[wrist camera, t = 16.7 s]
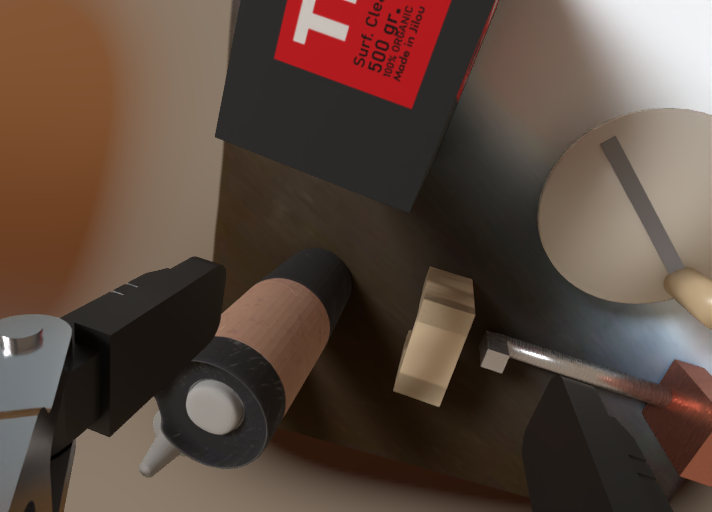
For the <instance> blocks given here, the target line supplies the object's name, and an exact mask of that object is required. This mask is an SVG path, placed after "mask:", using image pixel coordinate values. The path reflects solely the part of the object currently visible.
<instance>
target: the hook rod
mask: <svg viewBox="0 0 712 512" xmlns="http://www.w3.org/2000/svg"><path fill="white" fill-rule="evenodd" d="M479 353H480V364H481V367H484V368H487V369H490V370H493V371H496V372H499V373H502V372H503V370H504V368H505V366H506V363H507V361H508V359H509V358H511V359H514V360H518V361H521V362H524V363H527V364H530V365H533V366H536V367H539V368H542V369H545V370H548V371H551V372H554V373H558V374H561V375H564V376H567V377H570V378H573V379H576V380H579V381H582V382H585V383H588V384H591V385H594V386H598V387H601V388H604V389H607V390H610V391H613V392H616V393H619V394H622V395H625V396H628V397H631V398H635V399H638V400H641V401H644V402H647V404H646V406H645V407H644V409H643V411H642V412H641V413H642V414H643V416H644V418H645V419H646V421H647V423H648V424H649V426H650V428H651V429H652V431H653V433H654V434H655V436H656V438H657V439H658V441H659V442H660V444H661V446H662V447H663V449H664V451H665V452H666V454H667V456H668V457H669V459H670V461H671V462H672V464H673V466H674V467H675V469H676V471H677V472H678V474H679V476H681V477H684V478H687V479H690V480H693V481H696V482H699V483H701V484H704V485H708V486H710V487H712V376H711V375H710V374H709V373H708V372H707V371H706V370H705V368H702V367H698V366H695V365H692V364H689V363H686V362H682V361H679V360H676V359H675V360H674V361H673V363H672V364H671V366H670V368H669V369H668V371H667V372H666V374H665V376H664V377H663V379H662V380H661V382H660V384H657V383H654V382H650V381H647V380H644V379H641V378H638V377H635V376H632V375H628V374H625V373H622V372H619V371H616V370H613V369H610V368H606V367H603V366H600V365H597V364H594V363H591V362H588V361H584V360H581V359H578V358H575V357H572V356H569V355H566V354H562V353H559V352H556V351H553V350H550V349H547V348H544V347H540V346H537V345H534V344H531V343H528V342H525V341H522V340H518V339H515V338H512V337H509V336H506V335H503V334H500V333H496V332H495V333H493V332H490V331H487V330H486V331H485V333H484V336H483V338H482V341H481V343H480V345H479Z"/></svg>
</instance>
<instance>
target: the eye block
mask: <svg viewBox="0 0 712 512" xmlns="http://www.w3.org/2000/svg"><path fill="white" fill-rule="evenodd" d="M474 317H475V305H474V292H473V280H472V279H470V278H466V277H463V276H460V275H456V274H453V273H450V272H447V271H443V270H440V269H437V268H433V267H429V270H428V273H427V276H426V279H425V282H424V286H423V291H422V296H421V301H420V306H419V311H418V315H417V318H416V321H415V324H414V327H413V330H412V331H411V330H409V331H408V334H407V338H406V341H405V344H404V347H403V351H402V355H401V360H400V364H399V368H398V373H397V377H396V381H395V385H394V390H393V391H395V392H398V393H400V394H403V395H406V396H409V397H412V398H415V399H418V400H421V401H423V402H426V403H429V404H432V405H435V406H438V407H440V404H441V402H442V399H443V397H444V394H445V391H446V389H447V386H448V384H449V381H450V379H451V376H452V374H453V371H454V368H455V366H456V363H457V361H458V358H459V356H460V353H461V351H462V348H463V345H464V343H465V340H466V338H467V335H468V333H469V330H470V328H471V325H472V322H473V320H474Z"/></svg>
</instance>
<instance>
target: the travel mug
mask: <svg viewBox="0 0 712 512" xmlns="http://www.w3.org/2000/svg"><path fill="white" fill-rule="evenodd" d="M351 290H352V281H351V276H350V273H349V271H348V269H347V267H346V265H345V264H344V263H343V261H342V260H341V259H340V258H338V257H337V256H336V255H335V254H333V253H331V252H329V251H326V250H323V249H318V248H311V249H305V250H302V251H300V252H298V253H296V254H295V255H293V256H292V257H290V258H289V259H288V260H286V261H285V262H284V263H283V264H281V265H280V266H279V267H277V268H276V269H275V270H274V271H272V272H271V273H270V274H268V275H267V276H266V277H264V278H263V279H262V280H261V281H259V282H258V283H257V284H256V285H254V286H253V287H252V288H251V289H249V290H248V291H247V292H246V293H245V294H244V295H243V296H242V297H240V298H239V299H238V300H237V301H236V302H235V303H234V304H233V305H231V306H230V307H229V308H228V309H227V310H226V311H225V312H224V313H222V314H221V320H220V325H219V328H218V330H217V332H216V335H215V336H214V338H213V340H212V341H211V342H210V343H209V344H208V345H207V346H206V347H205V348H204V349H203V350H202V351H201V352H200V353H199V354H198V355H197V356H196V357H195V358H194V359H193V360H191V361H190V362H189V363H188V364H187V365H186V366H185V367H184V368H183V369H182V370H181V371H180V372H179V373H178V374H177V375H175V376H174V377H173V378H172V379H171V380H170V381H169V382H168V383H167V384H166V385H165V386H164V387H163V388H162V389H161V390H159V391H158V392H157V393H156V394H155V395H154V397H155V399H156V401H157V404H158V407H159V411H160V415H161V427H160V428H161V432H162V433H163V435H164V436H165V438H166V439H167V440H168V441H169V442H170V443H171V444H172V445H173V446H174V447H175V448H176V449H178V450H179V451H180V452H181V453H183V454H184V455H186V456H188V457H189V458H191V459H193V460H195V461H197V462H199V463H201V464H204V465H207V466H211V467H216V468H222V469H230V468H238V467H242V466H245V465H247V464H249V463H251V462H253V461H254V460H255V459H257V458H258V457H259V456H260V455H261V453H262V452H263V451H264V450H265V448H266V447H267V445H268V443H269V441H270V440H271V438H272V436H273V435H274V433H275V431H276V430H277V428H278V426H279V424H280V423H281V421H282V419H283V418H284V416H285V414H286V413H287V411H288V409H289V407H290V406H291V404H292V402H293V401H294V399H295V397H296V395H297V394H298V392H299V390H300V389H301V387H302V385H303V384H304V382H305V380H306V378H307V377H308V375H309V373H310V372H311V370H312V368H313V366H314V365H315V363H316V361H317V360H318V358H319V356H320V355H321V353H322V351H323V349H324V348H325V346H326V344H327V342H328V340H329V338H330V336H331V334H332V332H333V330H334V328H335V326H336V324H337V322H338V320H339V318H340V316H341V314H342V312H343V310H344V308H345V306H346V304H347V302H348V300H349V297H350V294H351Z"/></svg>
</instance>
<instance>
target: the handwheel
mask: <svg viewBox="0 0 712 512" xmlns="http://www.w3.org/2000/svg"><path fill="white" fill-rule="evenodd" d="M537 224H538V232H539V236H540V240H541V243H542V245H543V248H544V250H545V252H546V254H547V256H548V258H549V259H550V261H551V263H552V264H553V265H554V267H555V268H556V269H557V271H558V272H559V273H560V274H561V275H562V276H563V277H564V278H565V279H566V280H567V281H569V282H570V283H571V284H573V285H574V286H575V287H577V288H579V289H580V290H582V291H584V292H586V293H588V294H590V295H593V296H595V297H598V298H601V299H605V300H608V301H613V302H620V303H632V304H642V303H654V302H660V301H666V300H669V299H673V298H674V299H675V300H676V301H677V302H678V303H679V304H681V305H682V306H683V307H684V308H685V309H686V310H687V311H689V312H690V313H691V314H692V315H693V316H694V317H695V318H696V319H698V320H699V321H700V322H701V323H702V324H703V325H704V326H706V327H707V328H709V329H712V116H711V115H709V114H706V113H703V112H698V111H693V110H688V109H675V108H662V109H648V110H642V111H636V112H632V113H628V114H625V115H621V116H618V117H616V118H614V119H611V120H609V121H606V122H604V123H602V124H601V125H599V126H597V127H595V128H593V129H592V130H590V131H589V132H587V133H586V134H585V135H583V136H582V137H580V138H579V139H578V140H577V141H576V142H574V143H573V144H572V145H571V146H570V147H569V148H568V149H567V150H566V151H565V152H564V153H563V155H562V156H561V157H560V158H559V159H558V161H557V162H556V164H555V165H554V166H553V168H552V169H551V171H550V173H549V175H548V177H547V179H546V180H545V183H544V186H543V188H542V191H541V194H540V198H539V203H538V211H537Z"/></svg>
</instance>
